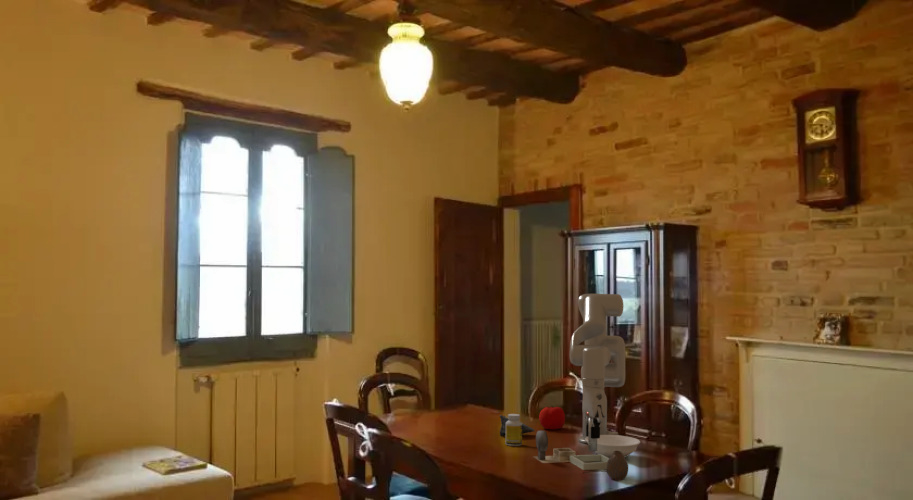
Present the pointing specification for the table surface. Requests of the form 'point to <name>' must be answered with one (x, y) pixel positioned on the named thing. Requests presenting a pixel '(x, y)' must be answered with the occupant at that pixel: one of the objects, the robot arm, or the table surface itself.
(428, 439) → the table surface
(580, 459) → the tray
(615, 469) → the vase
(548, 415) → the tomato
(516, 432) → the pill bottle
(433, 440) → the table surface
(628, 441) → the bowl
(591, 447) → the lock pin
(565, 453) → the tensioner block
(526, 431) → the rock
